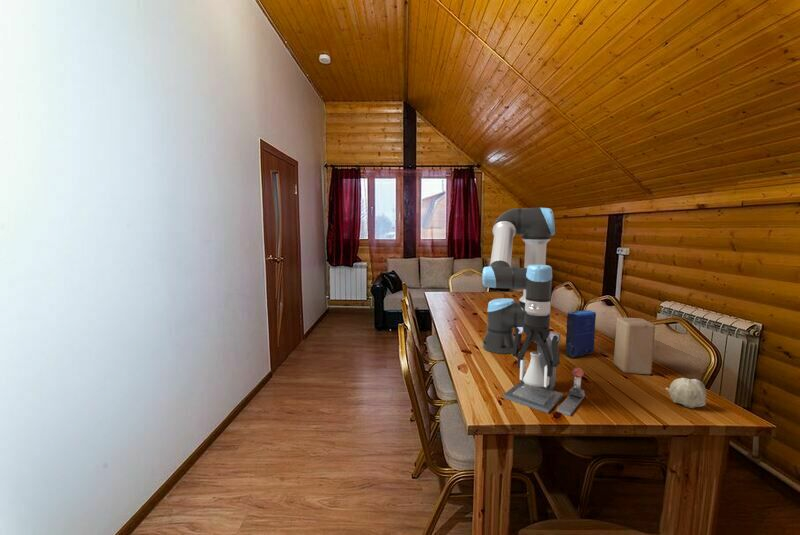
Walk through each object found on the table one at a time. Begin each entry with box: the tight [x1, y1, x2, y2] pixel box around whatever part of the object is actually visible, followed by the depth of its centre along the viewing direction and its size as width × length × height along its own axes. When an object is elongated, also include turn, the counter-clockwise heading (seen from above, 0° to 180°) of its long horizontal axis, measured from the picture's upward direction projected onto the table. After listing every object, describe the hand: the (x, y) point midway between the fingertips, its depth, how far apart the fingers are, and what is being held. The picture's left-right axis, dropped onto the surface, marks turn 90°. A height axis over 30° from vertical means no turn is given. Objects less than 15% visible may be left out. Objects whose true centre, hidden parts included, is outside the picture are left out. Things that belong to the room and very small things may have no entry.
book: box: [564, 309, 597, 358], centre depth 148 cm, size 14×5×20 cm, turn 115°
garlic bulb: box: [665, 377, 707, 409], centre depth 105 cm, size 9×8×10 cm
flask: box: [522, 351, 544, 387], centre depth 109 cm, size 7×7×10 cm
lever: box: [568, 367, 585, 397], centre depth 110 cm, size 4×4×9 cm
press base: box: [503, 332, 586, 417], centre depth 110 cm, size 19×20×19 cm
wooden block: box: [613, 316, 656, 375], centre depth 133 cm, size 10×10×20 cm
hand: (534, 381), depth 110 cm, fingers closed on flask, 7 cm apart
